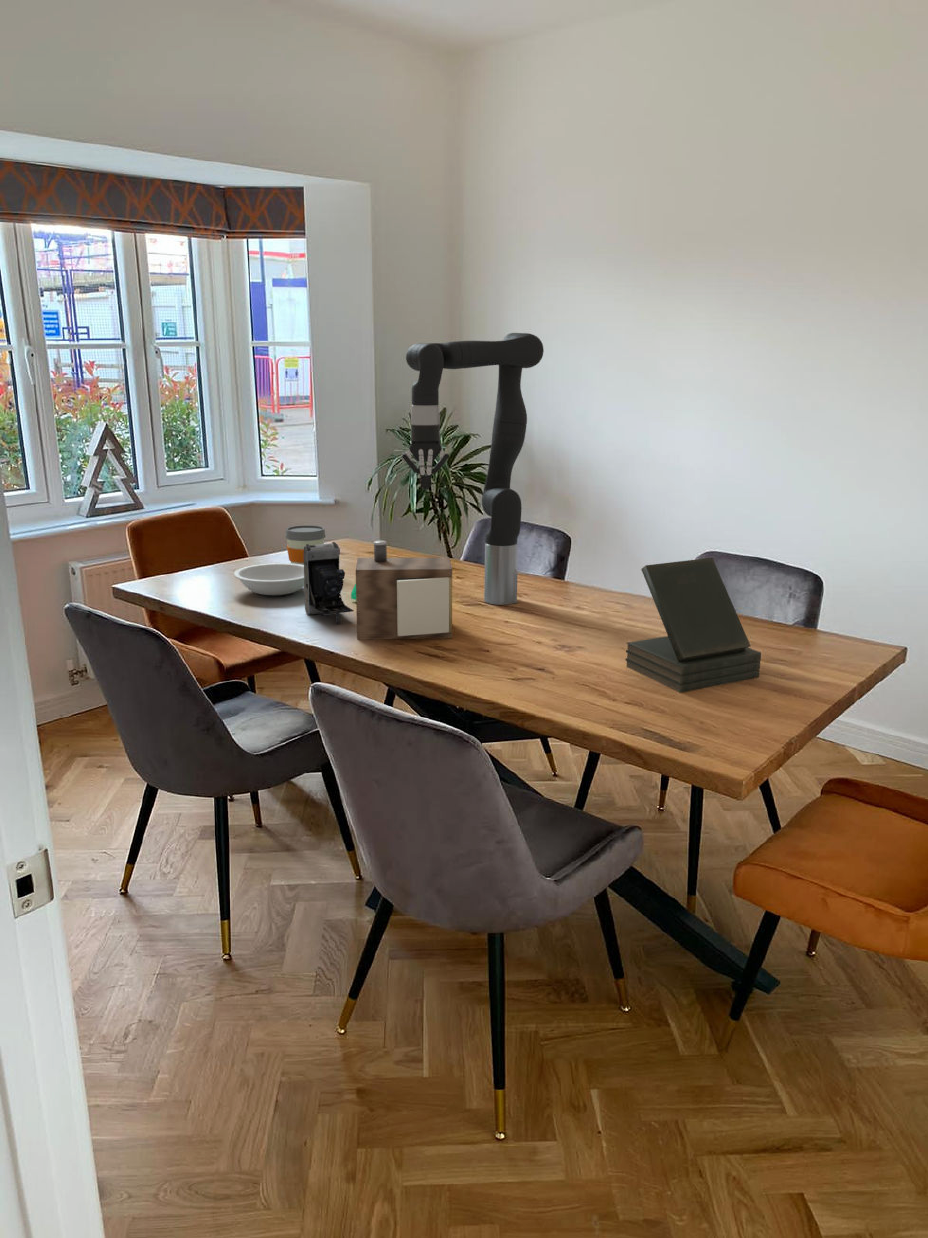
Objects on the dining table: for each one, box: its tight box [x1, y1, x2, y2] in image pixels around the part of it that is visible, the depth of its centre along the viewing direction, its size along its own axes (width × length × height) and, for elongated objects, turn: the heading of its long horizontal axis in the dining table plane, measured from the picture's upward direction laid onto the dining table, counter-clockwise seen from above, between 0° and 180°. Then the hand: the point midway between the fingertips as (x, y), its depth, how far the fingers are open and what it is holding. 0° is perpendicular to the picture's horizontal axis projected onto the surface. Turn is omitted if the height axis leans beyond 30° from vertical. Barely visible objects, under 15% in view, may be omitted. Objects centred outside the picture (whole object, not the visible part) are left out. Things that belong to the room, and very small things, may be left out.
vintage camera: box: [303, 541, 355, 625], centre depth 259 cm, size 10×16×20 cm, turn 28°
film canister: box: [373, 540, 388, 562], centre depth 247 cm, size 3×3×5 cm
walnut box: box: [355, 556, 453, 640], centre depth 248 cm, size 24×14×18 cm, turn 94°
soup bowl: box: [233, 562, 304, 596], centre depth 287 cm, size 24×24×7 cm
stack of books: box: [625, 557, 762, 694], centre depth 218 cm, size 23×20×25 cm
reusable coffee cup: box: [285, 524, 326, 565], centre depth 309 cm, size 13×13×15 cm
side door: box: [397, 576, 453, 636], centre depth 240 cm, size 14×1×14 cm, turn 107°
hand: (425, 488), depth 256 cm, fingers closed
